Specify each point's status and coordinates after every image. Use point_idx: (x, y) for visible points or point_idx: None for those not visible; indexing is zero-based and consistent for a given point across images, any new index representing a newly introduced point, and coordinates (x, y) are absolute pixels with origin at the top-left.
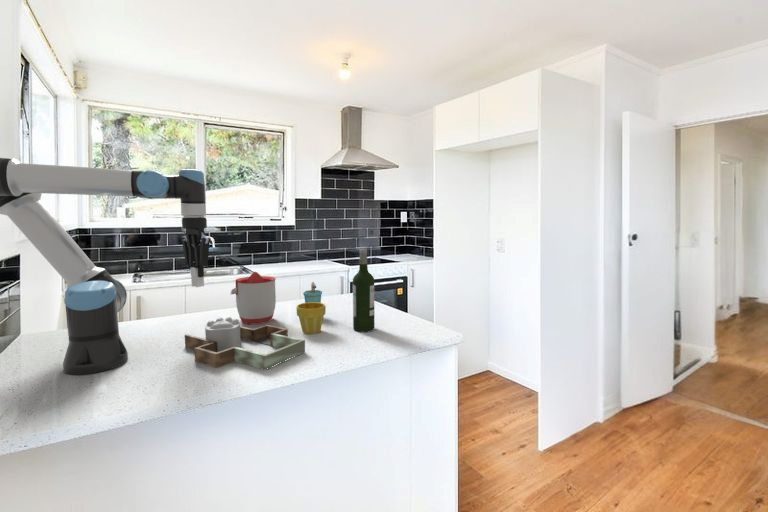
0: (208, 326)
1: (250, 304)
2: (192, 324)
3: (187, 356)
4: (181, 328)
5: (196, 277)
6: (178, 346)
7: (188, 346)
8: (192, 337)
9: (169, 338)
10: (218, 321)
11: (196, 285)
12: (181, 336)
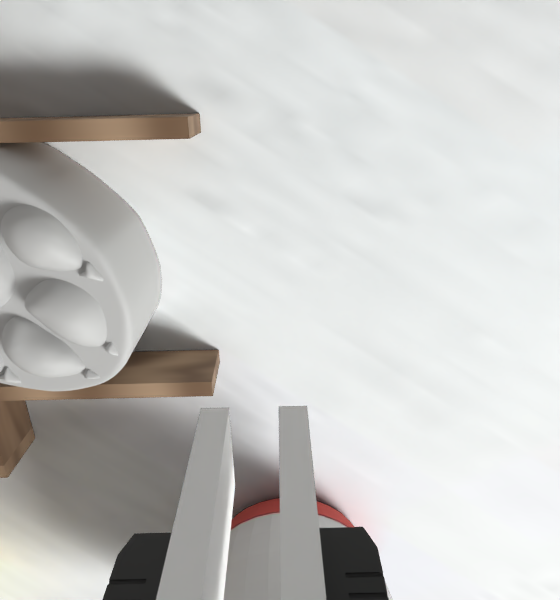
0: (14, 205)
1: (226, 591)
2: (536, 369)
3: (30, 20)
4: (531, 298)
5: (178, 508)
6: (243, 97)
7: (165, 114)
8: (102, 118)
9: (428, 155)
10: (34, 292)
11: (202, 421)
12: (398, 214)
